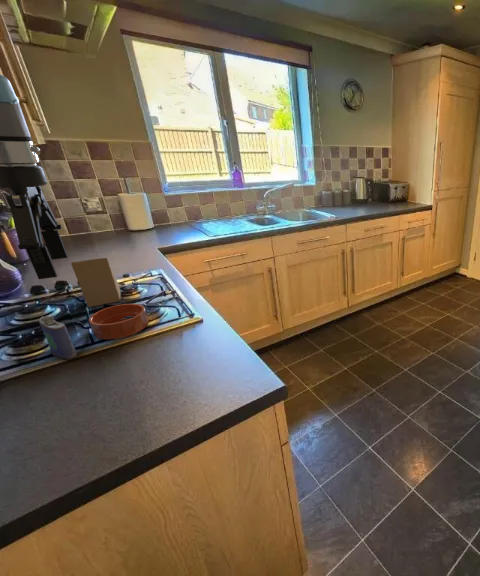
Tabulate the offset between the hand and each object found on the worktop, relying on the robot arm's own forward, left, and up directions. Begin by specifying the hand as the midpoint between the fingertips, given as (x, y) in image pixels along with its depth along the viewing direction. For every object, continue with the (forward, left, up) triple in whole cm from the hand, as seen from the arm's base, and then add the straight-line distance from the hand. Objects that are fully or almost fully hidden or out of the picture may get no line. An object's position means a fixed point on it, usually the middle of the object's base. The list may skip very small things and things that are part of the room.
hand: (54, 267), depth 72 cm
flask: (-5, -2, -23) cm, 24 cm away
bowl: (-2, +11, -23) cm, 26 cm away
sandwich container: (-27, +26, -23) cm, 44 cm away
